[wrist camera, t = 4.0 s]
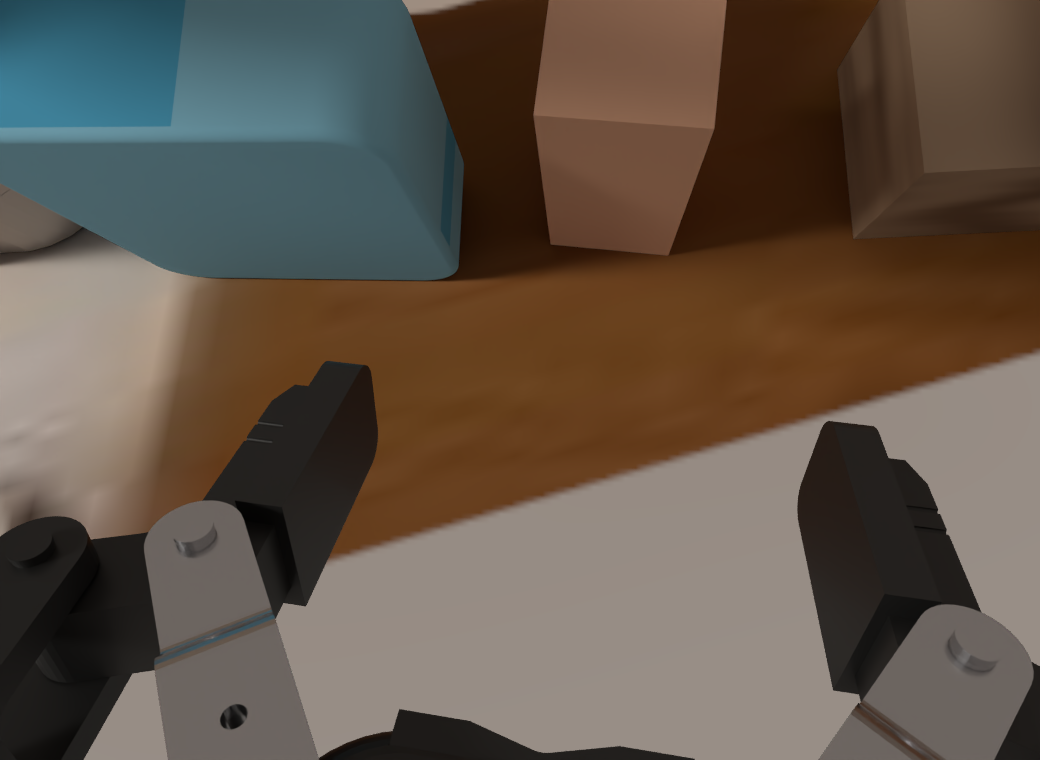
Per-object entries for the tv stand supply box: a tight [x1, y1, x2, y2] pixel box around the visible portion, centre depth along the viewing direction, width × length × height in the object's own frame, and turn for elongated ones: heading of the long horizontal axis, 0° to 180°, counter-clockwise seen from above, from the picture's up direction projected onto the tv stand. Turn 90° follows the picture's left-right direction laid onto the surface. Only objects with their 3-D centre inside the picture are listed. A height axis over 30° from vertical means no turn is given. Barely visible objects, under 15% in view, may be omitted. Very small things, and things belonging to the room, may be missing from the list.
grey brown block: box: [837, 0, 1040, 239], centre depth 25 cm, size 9×7×6 cm
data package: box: [0, 0, 464, 280], centre depth 24 cm, size 12×4×12 cm, turn 88°
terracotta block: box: [533, 0, 727, 256], centre depth 24 cm, size 5×5×10 cm
